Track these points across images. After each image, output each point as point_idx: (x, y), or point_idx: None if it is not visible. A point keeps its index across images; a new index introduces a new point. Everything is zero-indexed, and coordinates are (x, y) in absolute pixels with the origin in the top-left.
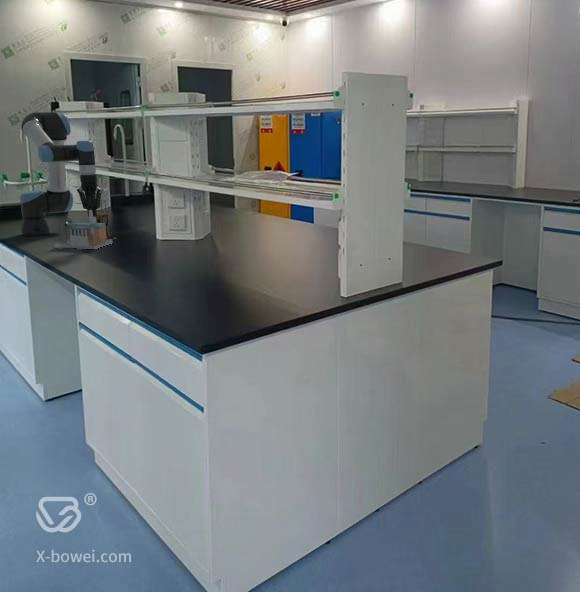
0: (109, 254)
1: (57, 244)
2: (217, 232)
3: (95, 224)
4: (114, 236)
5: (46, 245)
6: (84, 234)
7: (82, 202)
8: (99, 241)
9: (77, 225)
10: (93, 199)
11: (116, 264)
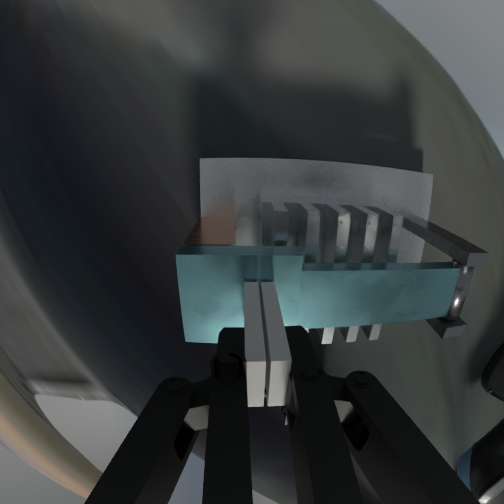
0: (86, 100)
1: (419, 172)
2: (67, 446)
3: (220, 277)
4: (282, 413)
5: (467, 222)
6: (299, 220)
7: (403, 428)
8: (201, 220)
9: (379, 266)
10: (204, 499)
11: (22, 11)
